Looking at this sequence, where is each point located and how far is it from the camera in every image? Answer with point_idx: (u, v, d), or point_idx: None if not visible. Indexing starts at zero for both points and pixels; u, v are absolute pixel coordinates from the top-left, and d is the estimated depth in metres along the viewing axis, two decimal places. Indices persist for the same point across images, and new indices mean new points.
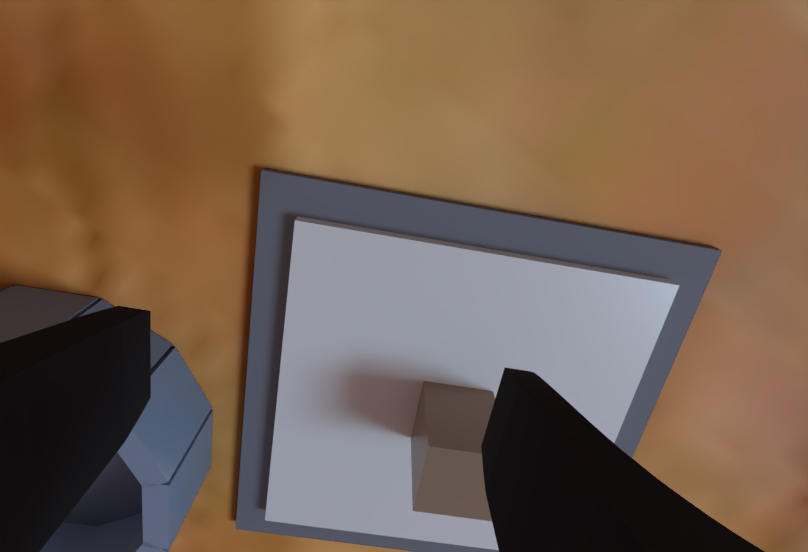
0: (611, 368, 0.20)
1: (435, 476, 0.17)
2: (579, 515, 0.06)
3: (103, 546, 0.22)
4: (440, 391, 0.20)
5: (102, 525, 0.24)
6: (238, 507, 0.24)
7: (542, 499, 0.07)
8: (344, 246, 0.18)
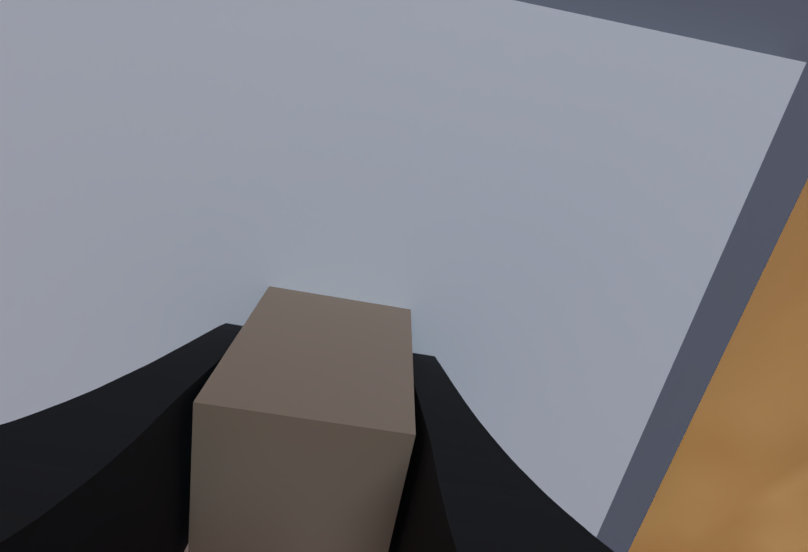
0: (177, 23, 0.08)
1: (273, 549, 0.07)
2: (425, 494, 0.06)
3: None
4: None
5: None
6: None
7: (410, 481, 0.07)
8: None
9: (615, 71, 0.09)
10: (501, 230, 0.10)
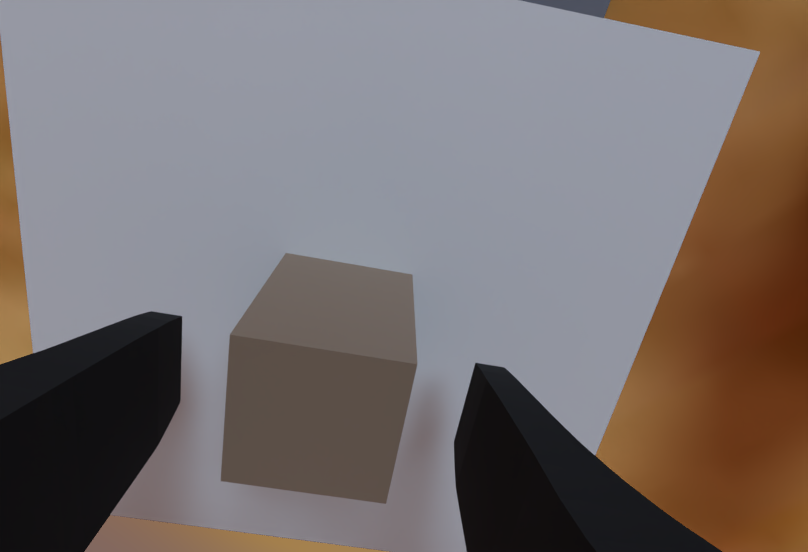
0: (209, 16, 0.10)
1: (294, 469, 0.09)
2: (534, 509, 0.06)
3: None
4: None
5: None
6: None
7: (503, 494, 0.07)
8: None
9: (593, 59, 0.10)
10: (493, 202, 0.11)
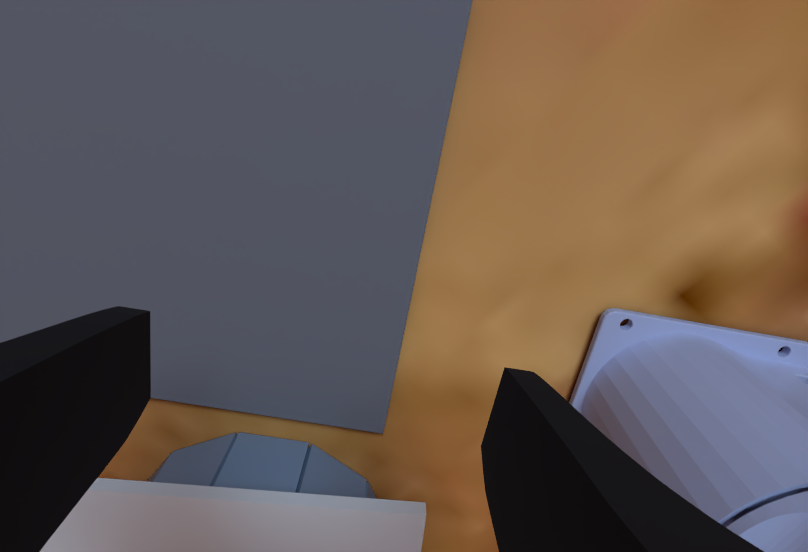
0: (132, 521, 0.18)
1: None
2: (579, 515, 0.06)
3: None
4: None
5: None
6: (352, 427, 0.23)
7: (542, 499, 0.07)
8: None
9: (337, 523, 0.18)
10: None
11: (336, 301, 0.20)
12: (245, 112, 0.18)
